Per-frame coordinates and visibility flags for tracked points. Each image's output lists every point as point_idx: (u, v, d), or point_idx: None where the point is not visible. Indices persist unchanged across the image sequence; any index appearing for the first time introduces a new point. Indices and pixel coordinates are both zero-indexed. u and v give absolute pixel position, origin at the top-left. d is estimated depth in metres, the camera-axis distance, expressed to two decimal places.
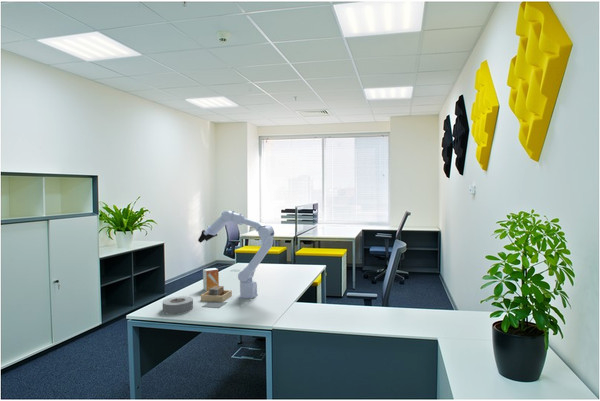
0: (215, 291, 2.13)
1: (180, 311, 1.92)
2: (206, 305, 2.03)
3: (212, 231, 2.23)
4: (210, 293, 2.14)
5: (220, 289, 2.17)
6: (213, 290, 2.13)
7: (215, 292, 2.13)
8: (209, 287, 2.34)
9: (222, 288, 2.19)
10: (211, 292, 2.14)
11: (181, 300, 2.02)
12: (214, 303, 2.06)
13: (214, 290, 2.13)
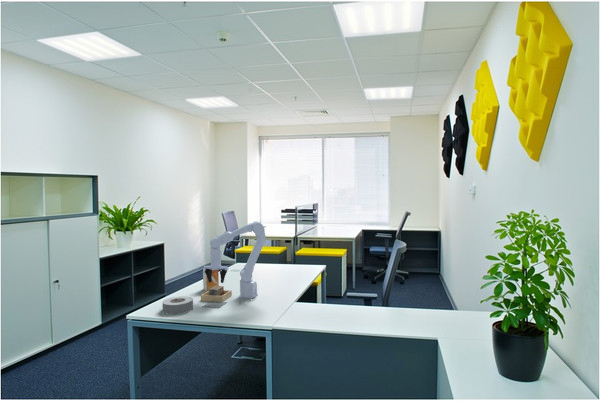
0: (215, 291, 2.13)
1: (180, 311, 1.92)
2: (206, 305, 2.03)
3: (220, 264, 2.17)
4: (210, 293, 2.14)
5: (220, 289, 2.17)
6: (213, 290, 2.13)
7: (215, 292, 2.13)
8: (209, 287, 2.34)
9: (222, 288, 2.19)
10: (211, 292, 2.14)
11: (181, 300, 2.02)
12: (214, 303, 2.06)
13: (214, 290, 2.13)
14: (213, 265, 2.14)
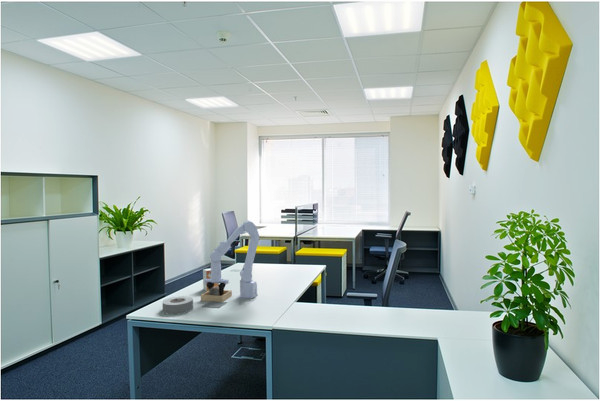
0: (215, 291, 2.13)
1: (180, 311, 1.92)
2: (206, 305, 2.03)
3: None
4: (210, 293, 2.14)
5: None
6: (213, 290, 2.13)
7: (215, 292, 2.13)
8: None
9: None
10: (211, 292, 2.14)
11: (181, 300, 2.02)
12: (214, 303, 2.06)
13: (214, 290, 2.13)
14: (213, 278, 2.14)
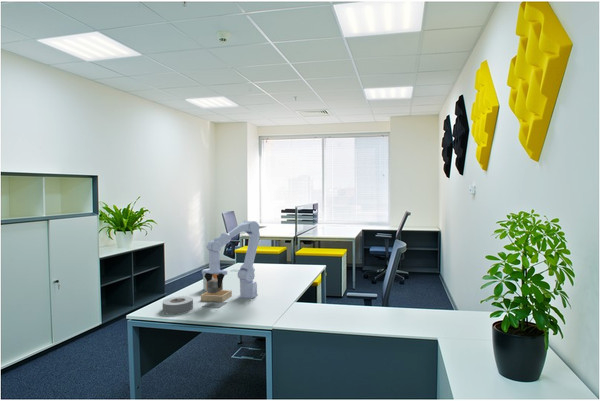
0: (213, 283, 2.04)
1: (180, 311, 1.92)
2: (206, 305, 2.03)
3: (219, 268, 2.08)
4: (208, 286, 2.05)
5: None
6: (211, 282, 2.05)
7: (213, 285, 2.04)
8: None
9: None
10: (209, 285, 2.05)
11: (181, 300, 2.02)
12: (214, 303, 2.06)
13: (212, 282, 2.04)
14: (211, 269, 2.05)
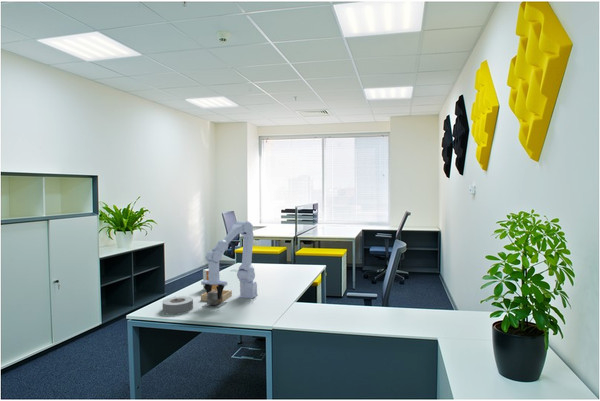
0: (213, 295, 2.00)
1: (180, 311, 1.92)
2: (206, 305, 2.03)
3: (219, 279, 2.04)
4: (208, 297, 2.01)
5: None
6: (211, 294, 2.01)
7: (213, 297, 2.01)
8: None
9: None
10: (209, 296, 2.01)
11: (181, 300, 2.02)
12: None
13: (212, 294, 2.01)
14: (211, 280, 2.01)
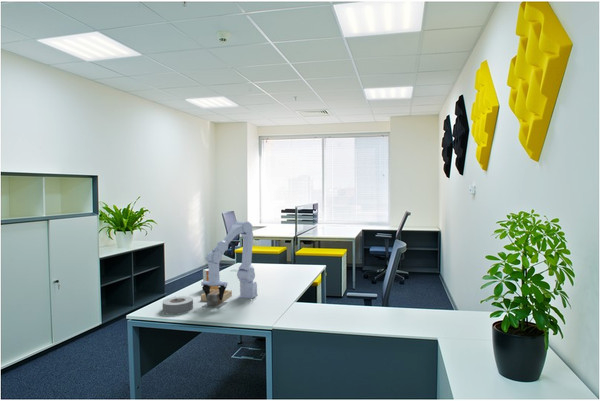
0: (213, 297, 2.00)
1: (180, 311, 1.92)
2: (206, 305, 2.03)
3: (219, 280, 2.04)
4: (208, 299, 2.01)
5: None
6: (211, 296, 2.01)
7: (213, 298, 2.00)
8: None
9: None
10: (209, 298, 2.01)
11: (181, 300, 2.02)
12: None
13: (212, 296, 2.01)
14: (211, 281, 2.01)
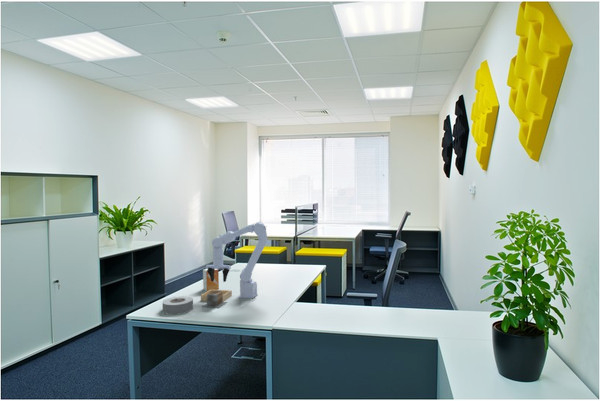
0: (213, 297, 2.00)
1: (180, 311, 1.92)
2: (206, 305, 2.03)
3: None
4: (208, 299, 2.01)
5: (219, 295, 2.04)
6: (211, 296, 2.01)
7: (213, 298, 2.00)
8: (209, 287, 2.34)
9: (221, 293, 2.07)
10: (209, 298, 2.01)
11: (181, 300, 2.02)
12: None
13: (212, 296, 2.01)
14: (216, 264, 2.17)
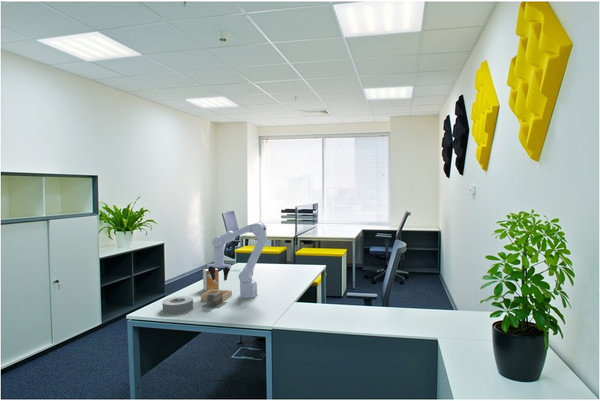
0: (213, 297, 2.00)
1: (180, 311, 1.92)
2: (206, 305, 2.03)
3: (223, 262, 2.23)
4: (208, 299, 2.01)
5: (219, 295, 2.04)
6: (211, 296, 2.01)
7: (213, 298, 2.00)
8: (209, 287, 2.34)
9: (221, 293, 2.07)
10: (209, 298, 2.01)
11: (181, 300, 2.02)
12: None
13: (212, 296, 2.01)
14: (216, 263, 2.20)
